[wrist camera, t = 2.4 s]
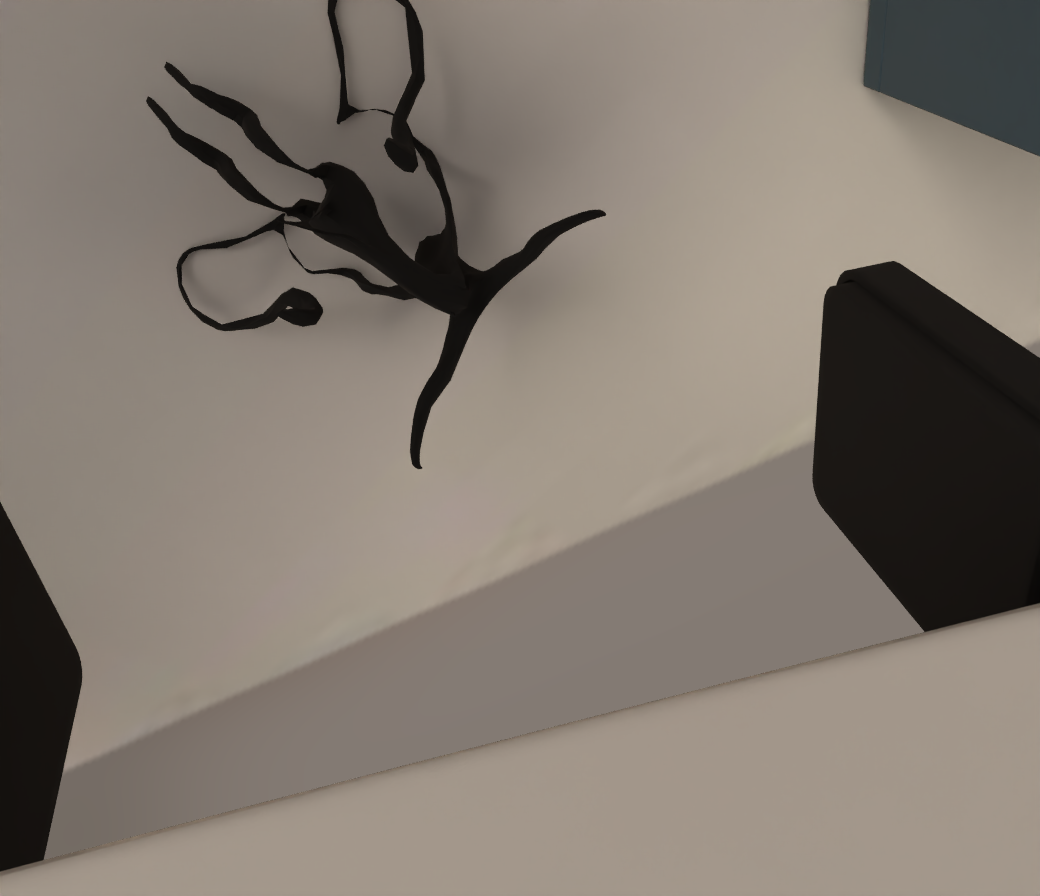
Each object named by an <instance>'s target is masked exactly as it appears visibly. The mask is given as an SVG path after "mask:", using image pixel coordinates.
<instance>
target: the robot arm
mask: <svg viewBox="0 0 1040 896" xmlns="http://www.w3.org/2000/svg"><path fill="white" fill-rule="evenodd" d="M813 487H814V491H815V494H816V497H817V499H818V502H819V504H820V505H821V507H822V508H823V509H824V511H825V512H826V513H827V514H828V515H829V517H830V518H831V519H832V520H833V521H834V523H835V524H836V525H837V526H838V527H839V529H840V530H841V531H842V532H843V533H844V535H845V536H846V537H847V538H848V540H849V541H850V542H851V543H852V544H853V546H854V547H855V548H856V549H857V550H858V552H859V553H860V554H861V555H862V556H863V558H864V559H865V560H866V561H867V563H868V564H869V565H870V566H871V567H872V569H873V570H874V571H875V572H876V573H877V575H878V576H879V577H880V578H881V579H882V581H883V582H884V583H885V584H886V586H887V587H888V588H889V589H890V590H891V592H892V593H893V594H894V595H895V596H896V597H897V599H898V600H899V601H900V602H901V604H902V605H903V606H904V607H905V609H906V610H907V611H908V612H909V613H910V615H911V616H912V617H913V618H914V619H915V621H916V622H917V623H918V624H919V625H920V627H921V628H922V629H923V630H924V632H923V633H920V634H916V635H912V636H908V637H904V638H900V639H896V640H892V641H888V642H884V643H880V644H876V645H872V646H868V647H864V648H860V649H856V650H852V651H848V652H844V653H840V654H836V655H832V656H829V657H825V658H820V659H816V660H813V661H809V662H805V663H801V664H797V665H793V666H789V667H785V668H781V669H778V670H773V671H770V672H766V673H762V674H758V675H754V676H750V677H746V678H742V679H738V680H734V681H730V682H726V683H723V684H718V685H715V686H711V687H707V688H703V689H699V690H695V691H691V692H687V693H683V694H680V695H676V696H672V697H668V698H664V699H660V700H656V701H652V702H648V703H645V704H641V705H637V706H633V707H629V708H625V709H621V710H617V711H613V712H609V713H606V714H602V715H598V716H594V717H590V718H586V719H583V720H578V721H575V722H571V723H567V724H563V725H559V726H555V727H551V728H547V729H543V730H540V731H536V732H532V733H528V734H525V735H520V736H517V737H513V738H509V739H505V740H501V741H497V742H493V743H490V744H485V745H482V746H478V747H474V748H470V749H466V750H462V751H458V752H455V753H451V754H447V755H443V756H439V757H435V758H432V759H428V760H424V761H420V762H416V763H412V764H409V765H405V766H400V767H397V768H393V769H389V770H386V771H381V772H377V773H374V774H370V775H366V776H362V777H358V778H354V779H351V780H347V781H343V782H339V783H335V784H331V785H328V786H324V787H320V788H317V789H313V790H309V791H305V792H301V793H297V794H294V795H290V796H286V797H282V798H278V799H274V800H270V801H266V802H263V803H259V804H255V805H251V806H247V807H244V808H240V809H236V810H232V811H229V812H225V813H221V814H217V815H213V816H209V817H206V818H202V819H198V820H194V821H191V822H187V823H183V824H179V825H175V826H171V827H168V828H164V829H160V830H156V831H153V832H149V833H145V834H141V835H137V836H134V837H130V838H126V839H122V840H118V841H115V842H111V843H107V844H103V845H99V846H96V847H92V848H88V849H84V850H81V851H77V852H73V853H69V854H65V855H61V856H58V857H54V858H50V859H46V860H44V855H45V851H46V846H47V842H48V837H49V832H50V828H51V823H52V818H53V814H54V809H55V805H56V800H57V795H58V791H59V786H60V781H61V777H62V772H63V768H64V763H65V759H66V754H67V749H68V745H69V740H70V736H71V731H72V726H73V722H74V717H75V713H76V708H77V703H78V699H79V694H80V690H81V685H82V666H81V660H80V657H79V653H78V651H77V649H76V646H75V645H74V643H73V641H72V639H71V637H70V635H69V633H68V631H67V629H66V627H65V625H64V623H63V621H62V620H61V618H60V616H59V614H58V612H57V610H56V608H55V606H54V604H53V602H52V600H51V598H50V597H49V595H48V593H47V591H46V589H45V587H44V585H43V583H42V581H41V579H40V577H39V575H38V573H37V572H36V570H35V568H34V566H33V564H32V562H31V560H30V558H29V556H28V554H27V552H26V550H25V549H24V547H23V545H22V543H21V541H20V539H19V537H18V535H17V533H16V531H15V529H14V527H13V525H12V524H11V522H10V520H9V518H8V516H7V514H6V512H5V510H4V508H3V506H2V504H1V502H0V896H1040V358H1039V357H1037V356H1036V355H1034V354H1033V353H1031V352H1030V351H1028V350H1027V349H1026V348H1024V347H1023V346H1021V345H1020V344H1018V343H1017V342H1015V341H1014V340H1012V339H1011V338H1009V337H1008V336H1006V335H1005V334H1003V333H1002V332H1000V331H999V330H997V329H996V328H994V327H993V326H992V325H990V324H989V323H987V322H986V321H984V320H983V319H981V318H980V317H978V316H977V315H975V314H974V313H972V312H971V311H969V310H968V309H966V308H965V307H963V306H962V305H960V304H959V303H958V302H956V301H955V300H953V299H952V298H950V297H949V296H947V295H946V294H944V293H943V292H941V291H940V290H938V289H937V288H935V287H934V286H932V285H931V284H929V283H928V282H926V281H925V280H924V279H922V278H921V277H919V276H918V275H916V274H915V273H913V272H912V271H910V270H909V269H907V268H906V267H904V266H903V265H901V264H900V263H897V262H895V261H891V262H886V263H881V264H876V265H871V266H866V267H861V268H857V269H852V270H847V271H844V272H843V273H842V274H841V275H840V277H839V279H838V281H837V285H836V286H831V287H830V288H829V289H828V290H827V291H826V294H825V298H824V306H823V321H822V337H821V352H820V368H819V383H818V398H817V414H816V429H815V444H814V460H813Z"/></svg>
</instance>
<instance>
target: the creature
mask: <svg viewBox="0 0 1040 896" xmlns="http://www.w3.org/2000/svg"><path fill="white" fill-rule="evenodd" d="M396 1H398V2H399V3H400V4H401V5H403V6H404V7H405V11H406V20H407V30H408V40H409V49H410V59H411V68H412V74H411V77H410V79H409V81H408V84H407V86H406V88H405V91H404V93H403V95H402V97H401V99H400V101H399V104H398V106H397V108H396V111H395V113H394V114H393V113H391V112H389V111H386V110H379V109H370V110H378V111H381V112H384V113H387V114H390V115H393V120H392V127H391V135H392V138H393V139H392V138H387V139H386V141H385V144H384V147H385V150H386V152H387V155H388V157H389V158H390V159H391V160H392V161H393V162H394V164H395V165H397V166H398V167H399V168H401V169H402V170H403V171H406V172H411V173H414V171H415V170H416V168H417V167H418V161H417V156H416V151H415V148H416V150H417V151H418V153H419V154H420V156H421V157H422V158H423V160H424V161H425V165H426V168H427V171H428V172H429V174H430V175H431V177H432V178H433V180H434V182H435V184H436V185H437V187H438V189H439V191H440V195H441V198H442V201H443V204H444V208H445V216H446V225H445V228H444V230H443V231H442V232H441V233H440V234H437V235H434V236H427V237H426V238H425V239H424V240H422V241H420V242H419V246H418V249H417V251H416V254H415V261H414V260H412V259H410V258H409V257H408V256H407V255H406V254H405V253H404V252H403V250H402V249H401V248H400V247H399V246H398V245H397V244H396V243H395V242H394V241H393V240H392V239H391V238H390V237H389V235H388V233H387V231H386V229H385V227H384V225H383V223H382V221H381V219H380V217H379V215H378V212H377V208H376V205H375V202H374V199H373V197H372V195H371V193H370V192H369V190H368V188H367V187H366V185H365V183H364V182H363V181H362V180H361V179H360V178H359V177H358V176H357V175H356V173H355V172H354V171H352V170H350V169H348V168H346V167H344V166H341V165H338V164H335V163H332V162H325V163H321V164H320V165H318V166H317V167H316V168H313V169H309V170H307V169H305V168H303V167H301V166H299V165H298V164H296V163H294V162H293V161H292V160H291V159H290V158H289V157H288V156H287V155H286V154H285V153H284V152H283V151H282V150H281V149H280V148H279V147H278V146H277V145H276V144H275V142H274V141H273V140H272V139H271V138H270V136H269V135H268V134H267V133H266V131H265V130H264V129H263V128H262V127H261V124H260V121H259V119H258V116H257V114H256V113H254V112H253V111H252V110H251V109H250V108H248V107H247V106H245V105H243V104H242V103H240V102H238V101H236V100H234V99H231V98H229V97H225V96H222V95H219V94H217V93H215V92H212V91H210V90H208V89H206V88H204V87H202V86H199V85H195V84H191V83H190V82H189V81H188V80H187V78H186V77H185V76H184V75H183V74H182V73H181V72H180V71H179V70H178V69H177V68H175V67H174V66H173V65H172V64H170V63H168V62H166V64H165V66H164V67H165V69H166V71H167V72H168V73H169V74H170V75H171V76H172V77H173V78H174V79H175V80H176V81H177V82H178V83H179V84H180V85H181V86H182V87H184V88H185V89H186V90H187V91H188V92H189V93H190V94H191V95H192V96H193V97H195V98H196V99H198V100H199V101H201V102H202V103H204V104H205V105H207V106H208V107H210V108H211V109H214V110H215V111H217V112H218V113H220V114H222V115H224V116H226V117H228V118H230V119H232V120H234V121H235V122H236V123H237V124H238V125H239V126H240V127H241V128H242V129H243V131H244V133H245V135H246V136H247V138H248V139H249V140H250V141H251V142H252V143H253V145H254V146H255V147H256V148H257V149H259V150H260V151H262V152H263V153H265V154H266V155H268V156H269V157H271V158H272V159H274V160H275V161H276V162H278V163H281V164H284V165H287V166H289V167H292V168H295V169H297V170H300V171H302V172H305V173H308V174H310V175H311V176H313V177H315V178H317V177H318V178H320V179H322V180H323V183H324V185H325V187H326V190H327V191H326V194H325V198H324V199H323V201H322V203H319V202H314V201H310V200H305V199H300V200H299V201H298V202H297V203H295V204H294V205H293V206H292V207H285V208H283V207H280V206H278V205H276V204H274V203H272V202H271V201H270V200H268V199H267V198H266V197H265V196H263V195H262V194H261V193H259V192H258V191H257V190H256V189H255V188H254V187H253V185H252V184H251V183H250V182H249V181H248V180H247V179H246V178H245V177H244V176H243V175H242V174H241V173H240V172H239V171H238V169H237V168H236V166H235V164H234V162H233V160H232V159H231V158H230V157H228V156H227V155H226V154H225V153H223V152H221V151H220V150H218V149H216V148H215V147H213V146H211V145H209V144H208V143H206V142H204V141H202V140H200V139H198V138H196V137H194V136H192V135H190V134H187V133H185V132H184V131H183V130H181V129H180V128H179V127H178V126H177V125H176V124H175V123H174V122H173V121H172V119H171V118H170V117H169V115H168V114H167V113H166V112H165V111H164V110H163V109H162V108H161V107H160V106H159V105H158V104H157V103H156V102H155V101H154V100H153V99H152V98H150V97H148V98H147V100H146V102H147V104H148V106H149V107H150V108H151V109H152V111H153V112H154V113H155V114H156V116H157V117H158V118H159V119H160V120H161V122H162V123H163V124H164V125H165V126H166V127H167V129H168V131H169V133H170V135H171V137H172V138H173V139H174V140H175V141H176V142H177V143H178V144H179V145H180V146H181V147H183V148H184V149H185V150H187V151H188V152H190V153H191V154H193V155H194V156H195V157H197V158H198V159H199V160H201V161H202V162H203V163H205V164H207V165H209V166H210V167H212V168H214V169H216V170H217V172H218V173H219V174H220V176H221V177H222V178H223V179H224V180H225V181H226V182H227V183H228V184H229V185H230V186H231V187H232V188H233V189H235V190H236V191H237V192H238V193H240V194H241V195H242V196H243V197H244V198H246V199H247V200H248V201H251V202H254V203H257V204H260V205H263V206H266V207H269V208H272V209H275V210H278V211H282V212H285V213H286V214H287V216H292V217H297V218H298V219H300V220H301V222H291V221H285V220H284V216H285V213H282V214H281V215H280V216H278V217H277V218H276V219H275V220H273V221H272V222H270V223H268V224H266V225H265V226H263V227H261V228H259V229H258V230H256V231H254V232H252V233H251V234H249V235H247V236H245V237H241V238H236V239H231V240H226V241H221V242H216V243H210V244H206V245H202V246H197V247H193V248H191V249H189V250H187V251H186V252H184V253H183V254H182V256H181V257H180V259H179V261H178V264H177V267H176V268H177V277H178V284H179V288H180V291H181V293H182V296H183V298H184V300H185V302H186V303H187V305H188V307H189V308H190V310H191V311H192V312H193V313H194V314H195V315H196V316H197V317H198V318H199V319H200V320H201V321H202V322H204V323H206V324H208V325H209V326H211V327H213V328H215V329H217V330H222V331H235V330H244V329H255V328H258V327H261V326H264V325H266V324H269V323H272V322H274V321H275V320H276V319H277V318H278V317H280V318H282V319H283V320H286V321H288V322H290V323H292V324H294V325H298V326H302V327H305V326H310V325H316V324H317V322H318V320H319V319H320V317H321V316H322V314H323V308H322V306H321V305H320V304H319V302H318V301H317V299H316V298H315V297H314V296H313V295H312V294H310V293H308V292H306V291H303V290H300V289H296V288H291V289H289V290H288V291H286V292H284V293H283V294H281V295H280V297H279V298H278V299H277V300H276V301H275V302H274V303H273V304H272V305H271V306H270V307H269V308H268V309H267V310H266V311H265V312H264V313H263V314H260V315H257V316H253V317H249V318H245V319H241V320H238V321H234V322H230V323H226V324H220V323H218V322H216V321H215V320H213V319H211V318H209V317H208V316H206V315H204V314H202V313H201V312H200V311H198V310H197V309H195V308H194V307H192V305H191V303H190V301H189V299H188V296H187V294H186V292H185V290H184V288H183V285H182V264H183V262H184V261H185V259H186V258H187V256H188V255H189V254H190V253H192V252H194V251H197V250H201V249H216V248H228V247H230V246H233V245H235V244H238V243H240V242H242V241H245V240H247V239H250V238H252V237H255V236H257V235H259V234H262V233H264V232H266V231H270V230H275V231H277V232H278V233H280V234H282V235H283V236H284V239H285V241H286V238H285V234H284V223H285V224H289V225H293V226H297V227H300V228H303V229H307V230H311V231H313V232H314V233H315V234H316V235H317V236H319V237H321V238H322V239H324V240H325V241H327V242H329V243H331V244H334V245H336V246H338V247H340V248H342V249H344V250H346V251H348V252H351V253H353V254H355V255H356V256H358V257H360V258H361V259H363V260H364V261H366V262H368V263H369V264H371V265H372V266H374V267H375V268H377V269H378V270H379V271H381V272H382V273H383V274H385V275H386V276H387V277H389V278H390V279H391V280H393V281H394V282H395V283H397V284H398V285H396V286H392V287H385V286H380V285H376V284H372V283H370V282H369V281H368V280H367V279H366V278H364V276H363V275H362V274H361V272H359V271H357V270H355V269H348V268H337V269H327V270H318V271H311V270H308V269H306V268H304V266H303V265H302V264H301V263H300V261H299V260H298V259H297V258H296V256H295V255H294V254H293V253H292V251H291V250H290V249H289V251H290V253H291V255H292V256H293V258H294V259H295V260H296V261H297V262H298V263H299V264H300V265H301V266H302V267H303V268H304V269H305V270H306V271H307V272H308V273H311V274H324V273H330V274H338V275H342V276H345V277H348V278H351V279H353V280H354V281H355V282H356V283H357V284H358V286H359V287H360V288H361V289H362V290H363V291H365V292H367V293H370V294H380V295H386V296H390V297H394V298H397V299H401V300H408V299H413V298H417V299H419V300H421V301H423V302H424V303H426V304H428V305H430V306H432V307H434V308H435V309H438V310H440V311H443V312H445V313H447V314H450V320H449V327H448V331H447V334H446V338H445V342H444V347H443V350H442V353H441V357H440V360H439V363H438V365H437V367H436V369H435V370H434V372H433V374H432V375H431V377H430V378H429V380H428V381H427V383H426V385H425V387H424V388H423V390H422V392H421V394H420V396H419V398H418V401H417V405H416V409H415V413H414V418H413V425H412V433H411V444H410V454H411V460H412V464H413V466H414V467H415V468H417V469H422V467H421V465H420V448H421V443H422V438H423V433H424V429H425V426H426V423H427V420H428V416H429V413H430V410H431V407H432V405H433V404H434V403H435V401H436V400H437V398H438V397H439V396H440V394H441V393H442V391H443V390H444V389H445V387H446V386H447V385H448V383H449V382H450V380H451V378H452V376H453V373H454V371H455V368H456V366H457V363H458V361H459V359H460V356H461V354H462V352H463V349H464V347H465V344H466V342H467V340H468V338H469V335H470V333H471V331H472V329H473V327H474V325H475V323H476V322H477V320H478V318H479V316H480V315H481V313H482V312H483V310H484V309H485V307H486V306H487V305H488V303H489V302H490V301H491V300H492V298H493V297H494V296H495V295H496V294H497V293H498V291H499V290H500V289H502V288H503V287H504V286H505V285H506V284H507V283H508V282H509V281H510V280H511V279H512V278H514V277H515V276H516V275H517V274H519V273H520V272H521V271H522V270H524V269H525V268H526V267H527V266H528V265H529V264H531V263H532V262H533V261H534V260H535V259H537V258H538V256H539V255H540V254H541V253H542V252H543V251H544V249H545V248H546V247H547V246H548V245H549V244H551V243H552V242H553V241H554V240H555V239H556V238H557V237H558V236H559V235H561V234H563V233H564V232H566V231H568V230H570V229H572V228H574V227H576V226H578V225H580V224H582V223H585V222H587V221H590V220H592V219H596V218H599V217H602V216H606V213H605V212H604V211H602V210H589V211H585V212H581V213H578V214H576V215H573V216H570V217H567V218H565V219H562V220H560V221H558V222H556V223H553V224H551V225H549V226H547V227H545V228H543V229H541V230H539V231H538V232H537V233H536V234H534V235H533V236H532V237H531V238H530V240H529V241H528V242H527V244H526V245H525V247H524V248H523V249H522V250H521V251H520V252H518V253H516V254H514V255H512V256H509V257H507V258H505V259H503V260H501V261H500V262H499V263H498V264H496V265H495V266H494V267H492V268H491V269H489V270H486V271H480V270H477V269H475V268H473V267H471V266H469V265H468V264H467V263H466V262H464V261H463V260H462V259H461V258H460V257H459V256H458V245H457V233H456V227H455V221H454V216H453V211H452V205H451V200H450V197H449V194H448V191H447V188H446V184H445V181H444V177H443V174H442V171H441V168H440V165H439V163H438V161H437V159H436V157H435V155H434V154H433V152H432V151H431V150H430V149H428V148H427V147H426V146H424V145H423V144H422V143H421V142H420V141H418V140H417V139H416V138H415V137H414V136H413V135H412V132H411V130H410V128H409V126H408V123H407V118H408V116H409V114H410V111H411V109H412V107H413V105H414V102H415V99H416V97H417V95H418V93H419V91H420V89H421V87H422V85H423V83H424V81H425V75H424V51H423V31H422V28H421V25H420V23H419V20H418V17H417V15H416V12H415V10H414V9H413V7H412V5H411V4H410V2H409V0H396ZM336 3H337V0H328V16H329V20H330V24H331V28H332V32H333V37H334V42H335V47H336V52H337V58H338V63H339V68H340V73H341V90H340V109H339V114H338V118H337V124H340V123H341V122H342V121H344V120H346V119H347V118H349V117H350V116H352V115H353V114H355V113H358V112H364V111H368V110H358V109H356V108H354V107H352V106H351V105H349V104H348V99H347V88H346V76H345V64H344V51H343V45H342V41H341V37H340V33H339V29H338V25H337V21H336V17H335V13H334V12H335V7H336ZM286 243H287V242H286ZM287 246H288V245H287ZM288 248H289V247H288ZM287 306H290V307H292V309H286V308H287Z"/></svg>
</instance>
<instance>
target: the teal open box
mask: <svg viewBox="0 0 1040 896" xmlns="http://www.w3.org/2000/svg"><path fill="white" fill-rule="evenodd" d="M864 86H866V87H868V88H871V89H873V90H876V91H878V92H881V93H883V94H886V95H888V96H891V97H893V98H896V99H898V100H901V101H903V102H906V103H908V104H911V105H913V106H916V107H918V108H921V109H923V110H926V111H928V112H931V113H933V114H936V115H938V116H940V117H943V118H945V119H948V120H950V121H953V122H955V123H958V124H960V125H963V126H965V127H968V128H970V129H973V130H975V131H978V132H980V133H983V134H985V135H988V136H990V137H993V138H995V139H998V140H1000V141H1003V142H1005V143H1008V144H1010V145H1013V146H1015V147H1018V148H1020V149H1023V150H1025V151H1028V152H1030V153H1032V154H1035V155H1037V156H1040V0H870V9H869V22H868V34H867V47H866V59H865V72H864Z"/></svg>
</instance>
